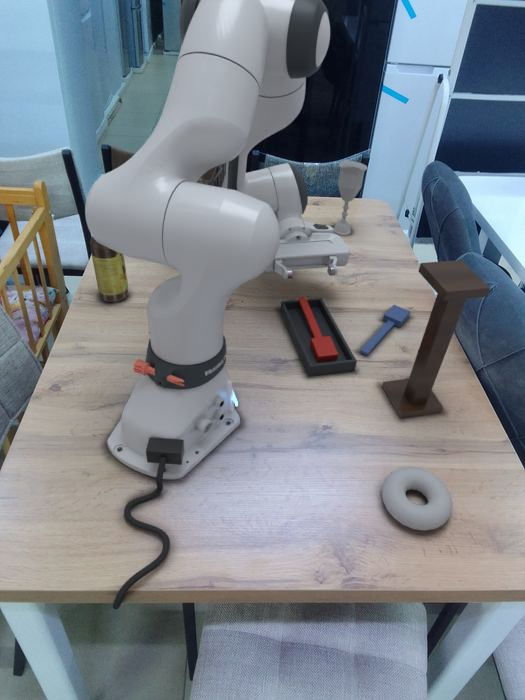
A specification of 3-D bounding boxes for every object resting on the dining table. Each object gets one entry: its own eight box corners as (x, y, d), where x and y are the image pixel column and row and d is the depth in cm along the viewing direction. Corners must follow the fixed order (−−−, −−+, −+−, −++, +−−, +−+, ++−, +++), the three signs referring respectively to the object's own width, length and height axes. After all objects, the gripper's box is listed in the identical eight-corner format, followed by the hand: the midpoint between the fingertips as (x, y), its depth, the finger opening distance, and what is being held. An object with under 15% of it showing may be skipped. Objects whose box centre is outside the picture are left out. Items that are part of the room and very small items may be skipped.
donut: (457, 535, 71) (436, 475, 78) (465, 522, 68) (443, 461, 76) (387, 535, 70) (373, 474, 78) (393, 522, 68) (378, 461, 75)
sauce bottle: (133, 298, 110) (122, 212, 97) (105, 306, 107) (90, 219, 94) (122, 284, 114) (110, 200, 101) (95, 291, 111) (79, 206, 98)
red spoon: (336, 360, 97) (338, 354, 96) (317, 362, 96) (318, 356, 95) (310, 299, 109) (311, 293, 108) (292, 300, 108) (293, 294, 107)
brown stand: (381, 386, 93) (417, 263, 76) (420, 381, 95) (464, 259, 78) (400, 418, 87) (443, 292, 70) (441, 412, 89) (493, 287, 72)
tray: (354, 370, 96) (356, 361, 94) (308, 376, 94) (310, 366, 92) (319, 306, 111) (321, 297, 110) (279, 310, 109) (280, 301, 108)
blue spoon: (392, 310, 112) (393, 304, 111) (408, 317, 110) (410, 311, 109) (354, 350, 100) (355, 344, 99) (372, 358, 99) (373, 352, 98)
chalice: (326, 233, 139) (336, 168, 127) (331, 223, 144) (341, 159, 132) (352, 238, 137) (365, 172, 126) (356, 227, 142) (369, 164, 131)
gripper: (247, 230, 107) (261, 264, 96) (338, 225, 111) (361, 257, 101) (246, 256, 111) (260, 291, 100) (334, 250, 115) (356, 283, 105)
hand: (311, 274), depth 101 cm, fingers open, 8 cm apart
